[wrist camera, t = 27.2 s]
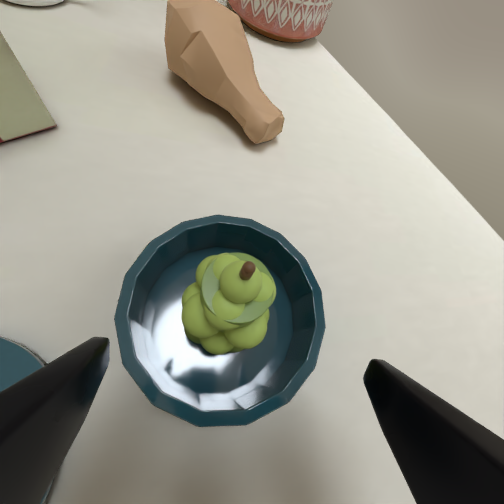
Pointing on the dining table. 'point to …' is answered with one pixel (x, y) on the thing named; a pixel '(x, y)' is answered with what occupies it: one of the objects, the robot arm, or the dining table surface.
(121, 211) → the dining table surface
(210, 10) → the squash
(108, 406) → the dining table surface
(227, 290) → the grapes
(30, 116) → the gift box
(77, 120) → the dining table surface
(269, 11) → the planter
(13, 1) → the coffeepot
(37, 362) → the lid
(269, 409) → the teal round bowl
